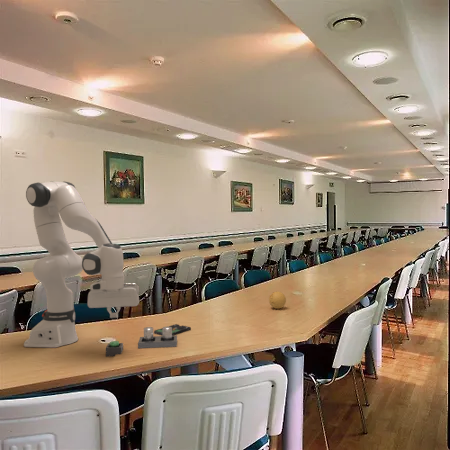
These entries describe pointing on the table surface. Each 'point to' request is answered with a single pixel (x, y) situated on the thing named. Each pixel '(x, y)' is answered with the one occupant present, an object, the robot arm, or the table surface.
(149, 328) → the billet
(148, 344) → the block
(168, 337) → the billet
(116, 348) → the button housing
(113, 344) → the button
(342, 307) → the table surface
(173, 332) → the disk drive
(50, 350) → the table surface
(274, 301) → the stress ball
